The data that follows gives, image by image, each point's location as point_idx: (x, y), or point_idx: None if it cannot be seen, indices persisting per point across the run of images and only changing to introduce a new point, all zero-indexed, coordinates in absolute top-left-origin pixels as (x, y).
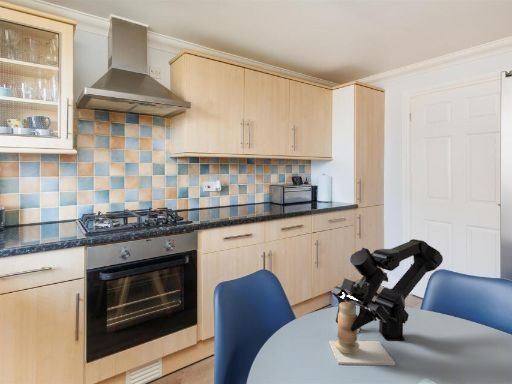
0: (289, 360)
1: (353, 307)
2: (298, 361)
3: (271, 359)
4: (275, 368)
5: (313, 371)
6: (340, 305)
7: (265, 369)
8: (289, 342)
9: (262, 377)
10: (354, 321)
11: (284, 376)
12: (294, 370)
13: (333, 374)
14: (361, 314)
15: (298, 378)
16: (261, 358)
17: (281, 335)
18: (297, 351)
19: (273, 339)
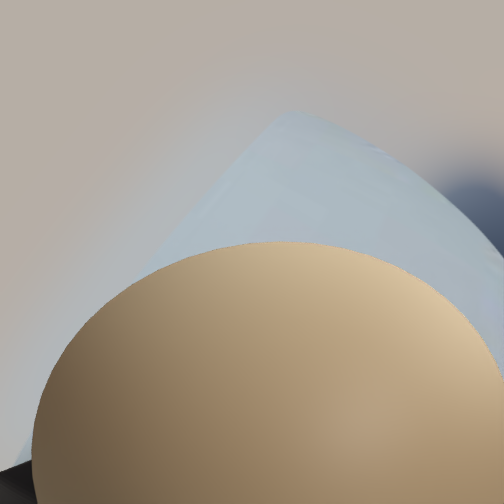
0: (330, 191)
1: (43, 467)
2: (313, 209)
3: (354, 158)
4: (307, 147)
5: (235, 217)
6: (359, 264)
7: (313, 131)
8: (441, 252)
9: (285, 118)
10: None
11: (262, 148)
12: (273, 177)
13: None
14: (16, 486)
15: (233, 168)
16: (366, 144)
17: (486, 254)
18: (376, 241)
19: (464, 218)
